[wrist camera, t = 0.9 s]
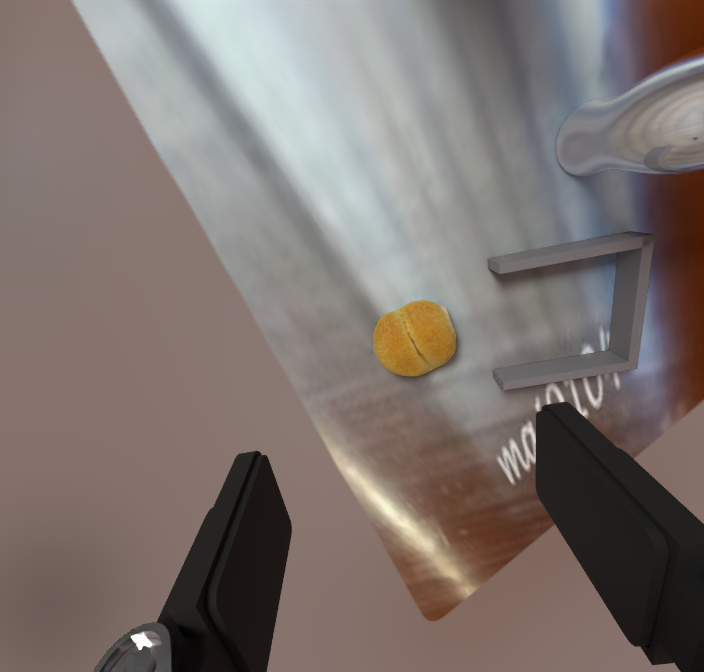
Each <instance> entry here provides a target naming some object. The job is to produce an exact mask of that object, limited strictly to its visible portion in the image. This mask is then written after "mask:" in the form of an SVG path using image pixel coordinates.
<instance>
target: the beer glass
mask: <svg viewBox="0 0 704 672" xmlns="http://www.w3.org/2000/svg"><path fill="white" fill-rule="evenodd" d="M556 155H557V159H558V161H559V163H560V165H561V167H562V168H563V169H564V170H565V171H566V172H568V173H570V174H572V175H575V176H581V177H584V176H590V175H594V174H597V173H599V172H601V171H604V170H607V169H622V170H628V171H634V172H640V173H647V174H659V175H679V174H693V173H703V172H704V45H703V46H701V47H699V48H697V49H694V50H692V51H690V52H688V53H686V54H684V55H682V56H680V57H678V58H676V59H674V60H672V61H671V62H669V63H667V64H666V65H664V66H662V67H661V68H659V69H657V70H655V71H654V72H652V73H651V74H649V75H648V76H646V77H645V78H643V79H642V80H640V81H639V82H637V83H636V84H634V85H633V86H631V87H630V88H628V89H627V90H626V91H624V92H622V93H621V94H619V95H617V96H615V97H612V98H601V99H595V100H592V101H588V102H586V103H584V104H582V105H580V106H579V107H577V108H576V109H575V110H574V111H573V112H572V113H571V114H570V115H569V116H568V117H567V118H566V120H565V121H564V123H563V124H562V126H561V128H560V130H559V133H558V136H557V140H556Z"/></svg>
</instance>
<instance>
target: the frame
mask: <svg viewBox="0 0 704 672" xmlns="http://www.w3.org/2000/svg"><path fill="white" fill-rule="evenodd" d="M654 239H655V234H647V233H639V232H631V231H630V232H625V233H620V234H614V235H609V236H604V237H599V238H593V239H588V240H583V241H578V242H572V243H567V244H562V245H557V246H551V247H546V248H541V249H536V250H530V251H525V252H520V253H515V254H509V255H504V256H499V257H494V258H488V268H489V269H491V270H493V271H495V272H497V273H499V274H504V273H509V272H514V271H520V270H525V269H530V268H536V267H541V266H546V265H552V264H557V263H562V262H568V261H573V260H579V259H584V258H589V257H595V256H600V255H605V254H611V253H616V252H618V257H617V268H616V278H615V288H614V299H613V309H612V319H611V330H610V340H609V350H607V351H601V352H595V353H589V354H583V355H577V356H571V357H565V358H559V359H553V360H547V361H541V362H535V363H529V364H523V365H517V366H511V367H505V368H499V369H493V378H494V379H495V380H496V381H497V383H498V384H499V385H500V386H501V388H502V389H503V390H509V389H515V388H522V387H528V386H534V385H540V384H546V383H552V382H559V381H565V380H571V379H577V378H583V377H589V376H596V375H602V374H608V373H614V372H620V371H626V370H633V369H637V366H638V358H639V351H640V344H641V336H642V329H643V321H644V314H645V306H646V299H647V291H648V284H649V276H650V269H651V261H652V254H653V246H654Z"/></svg>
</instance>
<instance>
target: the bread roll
mask: <svg viewBox="0 0 704 672" xmlns="http://www.w3.org/2000/svg"><path fill="white" fill-rule="evenodd" d="M373 349H374V353H375V355H376V357H377V359H378V360H379V362H380V363H381V365H382V366H383V367H385V368H386V369H387V370H389V371H390V372H392V373H394V374H397V375H401V376H420V375H423V374H425V373H427V372H429V371H431V370H433V369H435V368H437V367H439V366H442V365H443V364H445V363H446V362H447V361H448V360H449V359H450V358H451V357H452V356H453V355H454V353H455V351H456V332H455V330H454V327H453V325H452V323H451V321H450V317H449V315H448V313H447V310H446V308H445V307H444V306H443V305H440V304H436V303H434V302H432V301H427V300H421V301H415V302H411V303H409V304H407V305H405V306H403V307H402V308H400V309H398V310H396V311H393V312H390V313H387V314H386V315H384V316H383V317H381V318H380V319H379V321H378V323H377V325H376V327H375V331H374V335H373Z"/></svg>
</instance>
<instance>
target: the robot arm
mask: <svg viewBox="0 0 704 672" xmlns="http://www.w3.org/2000/svg"><path fill="white" fill-rule="evenodd" d="M536 490H537V494H538V496H539V499H540V500H541V502H542V504H543V505H544V507H545V508H546V510H547V512H548V513H549V515H550V516H551V518H552V520H553V521H554V523H555V524H556V526H557V528H558V529H559V531H560V532H561V534H562V536H563V537H564V539H565V540H566V542H567V544H568V545H569V547H570V548H571V550H572V552H573V553H574V555H575V556H576V558H577V560H578V561H579V563H580V564H581V566H582V568H583V569H584V571H585V572H586V574H587V575H588V577H589V579H590V580H591V582H592V584H593V585H594V587H595V588H596V590H597V592H598V593H599V595H600V596H601V598H602V600H603V601H604V603H605V604H606V606H607V608H608V609H609V611H610V612H611V614H612V616H613V617H614V619H615V620H616V622H617V624H618V625H619V627H620V628H621V630H622V632H623V633H624V635H625V636H626V638H627V639H628V641H629V642H630V643H631V644H632V645H634V646H640V647H641V648H642V650H643V651H644V653H645V654H646V656H647V658H648V659H649V661H650V662H651V664H652V665H658V664H668V663H675V664H676V666H677V667H678V669H679V670H680V671H681V672H704V524H703V523H702V522H701V521H700V520H698V519H697V518H696V517H695V516H694V515H693V514H692V513H691V512H690V511H689V510H688V509H687V508H686V507H685V506H684V505H682V504H681V503H680V502H679V501H678V500H677V499H676V498H675V497H674V496H673V495H672V494H670V493H669V492H668V491H667V490H666V489H665V488H664V487H663V486H662V485H661V484H660V483H658V482H657V481H656V480H655V479H654V478H653V477H652V476H651V475H650V474H649V473H648V472H647V471H646V470H645V469H643V468H642V467H641V466H640V465H639V464H638V463H637V462H636V461H635V460H634V459H633V458H632V457H630V456H629V455H628V454H627V453H626V452H624V451H623V450H622V449H619V448H617V447H616V446H615V445H614V444H612V443H611V442H610V441H609V440H608V439H607V438H606V437H605V436H604V435H603V434H602V433H601V432H600V431H599V430H598V429H596V428H595V427H594V426H593V425H592V424H591V423H590V422H589V421H588V420H587V419H586V418H585V417H584V416H583V415H582V414H580V413H579V412H578V411H577V410H576V409H575V408H574V407H573V406H572V405H571V404H570V403H568V402H561V403H554V404H548V405H544V406H543V407H542V411H539V412H537V414H536ZM291 533H292V527H291V521H290V518H289V515H288V512H287V510H286V507H285V504H284V501H283V498H282V496H281V493H280V490H279V487H278V485H277V482H276V479H275V476H274V474H273V471H272V468H271V465H270V463H269V460H268V457H267V456H266V455H261V453H260V452H259V451H254V452H247V453H241V454H238V455H237V457H236V458H235V460H234V463H233V465H232V467H231V469H230V472H229V474H228V476H227V478H226V481H225V483H224V485H223V487H222V489H221V491H220V494H219V496H218V498H217V500H216V503H215V505H214V507H213V508H212V509H210V510H209V512H208V513H207V515H206V517H205V519H204V521H203V523H202V525H201V528H200V530H199V532H198V534H197V536H196V538H195V541H194V543H193V545H192V547H191V549H190V551H189V554H188V556H187V558H186V560H185V562H184V564H183V566H182V569H181V571H180V573H179V575H178V577H177V579H176V582H175V584H174V586H173V588H172V590H171V592H170V595H169V597H168V599H167V601H166V603H165V605H164V608H163V610H162V612H161V614H160V616H159V618H158V621H157V623H156V622H150V623H145V624H142V625H140V626H138V627H135V628H133V629H131V630H130V631H129V632H127V633H126V634H124V635H123V636H122V637H121V638H119V639H118V640H117V641H116V642H115V643H114V644H113V645H112V646H111V647H110V648H109V649H108V650H107V651H106V653H105V654H104V655H103V657H102V658H101V659H100V661H99V662H98V664H97V665H96V666H95V668H94V670H93V672H267V666H268V661H269V655H270V650H271V644H272V639H273V633H274V627H275V622H276V617H277V611H278V606H279V600H280V594H281V589H282V583H283V578H284V573H285V567H286V561H287V556H288V550H289V545H290V540H291Z"/></svg>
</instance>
